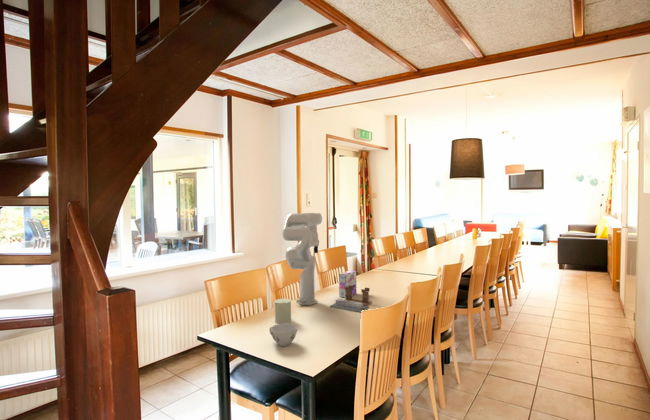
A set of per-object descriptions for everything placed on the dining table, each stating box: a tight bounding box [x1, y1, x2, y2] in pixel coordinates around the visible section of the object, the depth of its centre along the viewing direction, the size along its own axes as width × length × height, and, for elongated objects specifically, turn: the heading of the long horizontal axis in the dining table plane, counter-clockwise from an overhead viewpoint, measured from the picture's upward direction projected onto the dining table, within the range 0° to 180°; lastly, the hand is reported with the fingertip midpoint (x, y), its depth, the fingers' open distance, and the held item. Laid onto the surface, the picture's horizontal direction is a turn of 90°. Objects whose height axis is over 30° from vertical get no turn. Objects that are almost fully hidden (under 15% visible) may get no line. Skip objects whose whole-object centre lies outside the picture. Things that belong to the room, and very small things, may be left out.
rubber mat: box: [329, 302, 370, 314], centre depth 226 cm, size 11×22×1 cm, turn 57°
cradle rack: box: [344, 285, 373, 307], centre depth 235 cm, size 8×17×10 cm, turn 57°
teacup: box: [269, 323, 298, 347], centre depth 172 cm, size 15×12×8 cm
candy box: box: [338, 270, 357, 299], centre depth 252 cm, size 14×6×16 cm, turn 143°
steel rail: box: [335, 298, 363, 309], centre depth 226 cm, size 3×18×3 cm, turn 57°
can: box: [274, 298, 292, 325], centre depth 203 cm, size 9×9×12 cm
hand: (312, 253), depth 257 cm, fingers open, 9 cm apart
